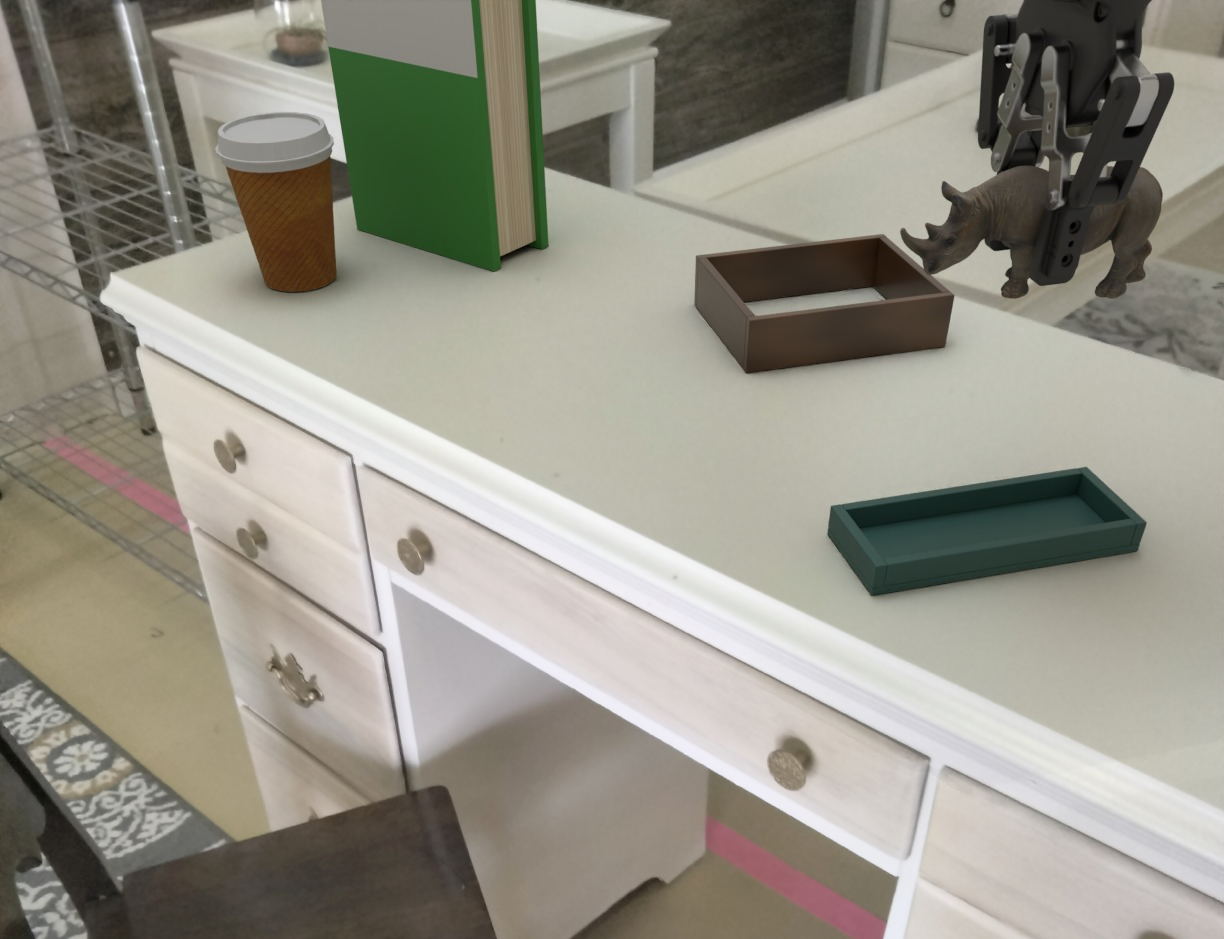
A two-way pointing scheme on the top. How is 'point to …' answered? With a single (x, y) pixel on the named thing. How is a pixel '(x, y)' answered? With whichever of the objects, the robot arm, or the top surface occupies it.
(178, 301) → the top surface
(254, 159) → the disposable coffee cup
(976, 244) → the rhino figurine
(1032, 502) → the tray
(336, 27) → the hardback book
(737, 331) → the open box
